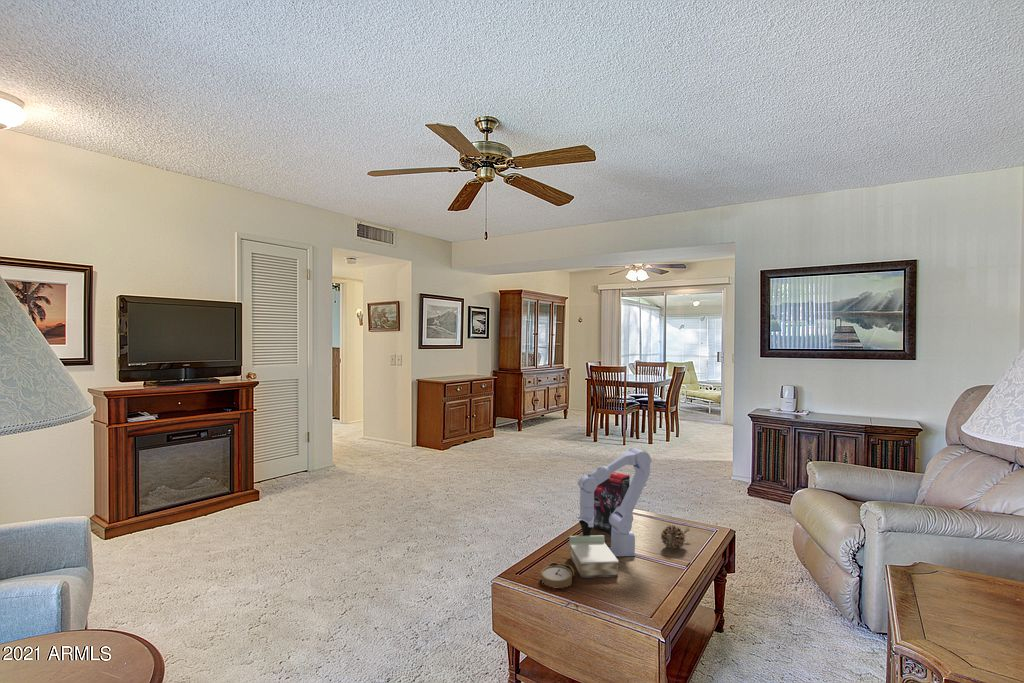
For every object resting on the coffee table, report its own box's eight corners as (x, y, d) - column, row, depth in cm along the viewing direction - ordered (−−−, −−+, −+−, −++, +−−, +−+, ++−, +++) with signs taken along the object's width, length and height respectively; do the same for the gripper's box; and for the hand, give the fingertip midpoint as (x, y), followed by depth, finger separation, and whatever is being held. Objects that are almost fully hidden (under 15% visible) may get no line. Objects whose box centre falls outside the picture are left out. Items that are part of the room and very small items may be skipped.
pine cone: (677, 556, 211) (678, 532, 211) (655, 550, 217) (655, 526, 217) (696, 541, 228) (696, 519, 228) (675, 536, 234) (676, 514, 234)
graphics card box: (591, 527, 243) (592, 470, 243) (600, 524, 248) (601, 468, 248) (621, 538, 230) (622, 477, 231) (629, 534, 235) (631, 475, 236)
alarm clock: (536, 577, 183) (550, 555, 196) (536, 590, 183) (551, 567, 197) (566, 584, 178) (578, 560, 191) (566, 596, 179) (579, 572, 192)
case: (603, 557, 208) (604, 544, 209) (617, 576, 191) (618, 563, 191) (570, 557, 207) (570, 545, 207) (581, 577, 189) (581, 564, 189)
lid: (603, 549, 210) (603, 535, 210) (618, 570, 190) (618, 554, 190) (569, 550, 208) (569, 535, 208) (581, 571, 189) (581, 555, 189)
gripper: (573, 500, 217) (572, 532, 217) (581, 511, 202) (581, 545, 202) (589, 500, 218) (588, 532, 217) (598, 511, 203) (598, 545, 203)
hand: (586, 538), depth 210 cm, fingers closed
